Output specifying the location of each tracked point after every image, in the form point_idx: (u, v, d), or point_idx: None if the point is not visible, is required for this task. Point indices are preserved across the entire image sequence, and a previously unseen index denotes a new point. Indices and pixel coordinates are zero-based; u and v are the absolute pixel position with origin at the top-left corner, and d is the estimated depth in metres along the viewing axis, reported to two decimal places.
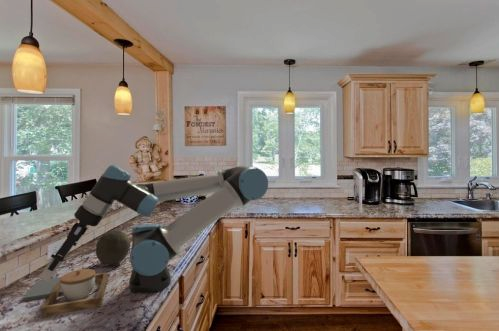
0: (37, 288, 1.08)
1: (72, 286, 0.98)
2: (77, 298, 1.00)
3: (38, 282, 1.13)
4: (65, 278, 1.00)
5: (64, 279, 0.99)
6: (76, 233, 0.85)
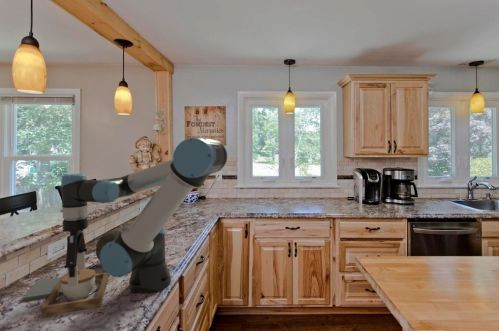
0: (37, 288, 1.08)
1: (72, 286, 0.98)
2: (77, 298, 1.00)
3: (38, 282, 1.13)
4: (65, 278, 1.00)
5: (64, 279, 0.99)
6: (71, 241, 0.96)
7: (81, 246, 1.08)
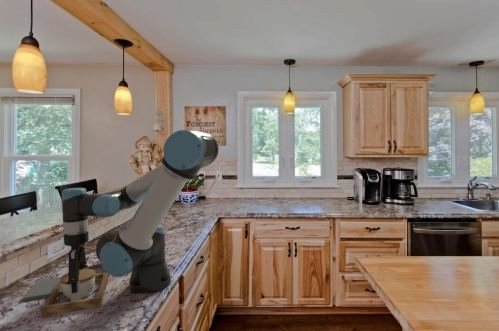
0: (37, 288, 1.08)
1: None
2: None
3: (38, 282, 1.13)
4: (65, 278, 1.00)
5: (64, 279, 0.99)
6: (73, 257, 0.96)
7: (82, 261, 1.07)
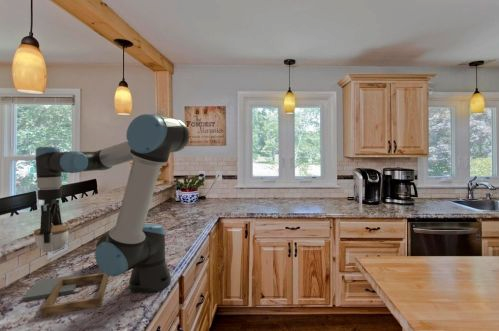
0: (37, 288, 1.08)
1: None
2: None
3: (38, 282, 1.13)
4: (38, 231, 1.06)
5: (37, 231, 1.05)
6: (45, 209, 1.03)
7: (56, 218, 1.13)
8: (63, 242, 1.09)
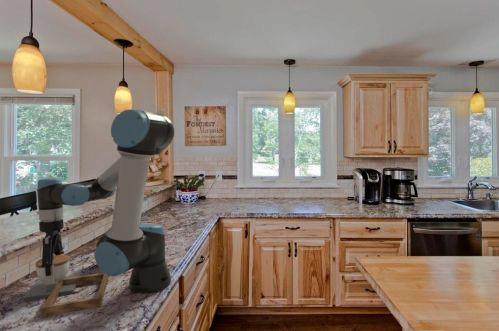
0: (37, 288, 1.08)
1: None
2: None
3: (38, 282, 1.13)
4: (40, 262, 1.06)
5: (39, 263, 1.06)
6: (47, 242, 1.03)
7: (58, 248, 1.14)
8: (64, 273, 1.09)
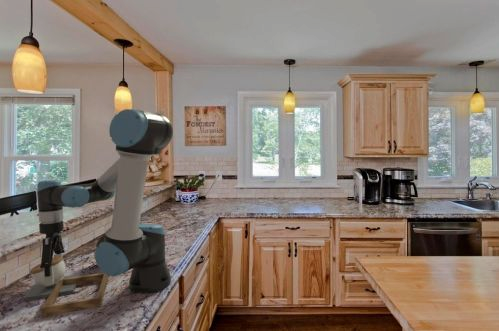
0: (37, 288, 1.08)
1: (41, 273, 1.04)
2: None
3: None
4: (33, 269, 1.06)
5: (32, 270, 1.06)
6: (47, 243, 1.03)
7: (58, 248, 1.15)
8: (61, 272, 1.09)
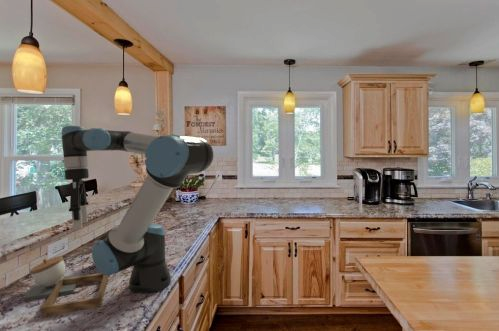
0: (37, 288, 1.08)
1: (41, 273, 1.04)
2: (51, 283, 1.07)
3: None
4: (33, 269, 1.06)
5: (32, 270, 1.06)
6: (74, 186, 1.01)
7: (83, 198, 1.13)
8: (61, 272, 1.09)
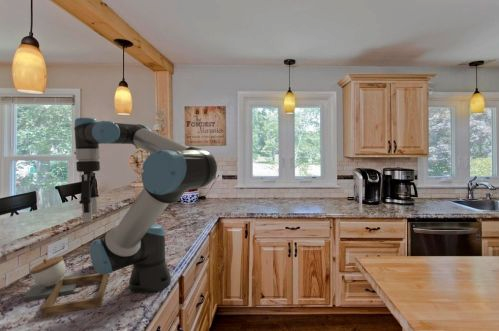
0: (37, 288, 1.08)
1: (41, 273, 1.04)
2: (51, 283, 1.07)
3: None
4: (33, 269, 1.06)
5: (32, 270, 1.06)
6: (85, 179, 1.01)
7: (93, 190, 1.13)
8: (61, 272, 1.09)
